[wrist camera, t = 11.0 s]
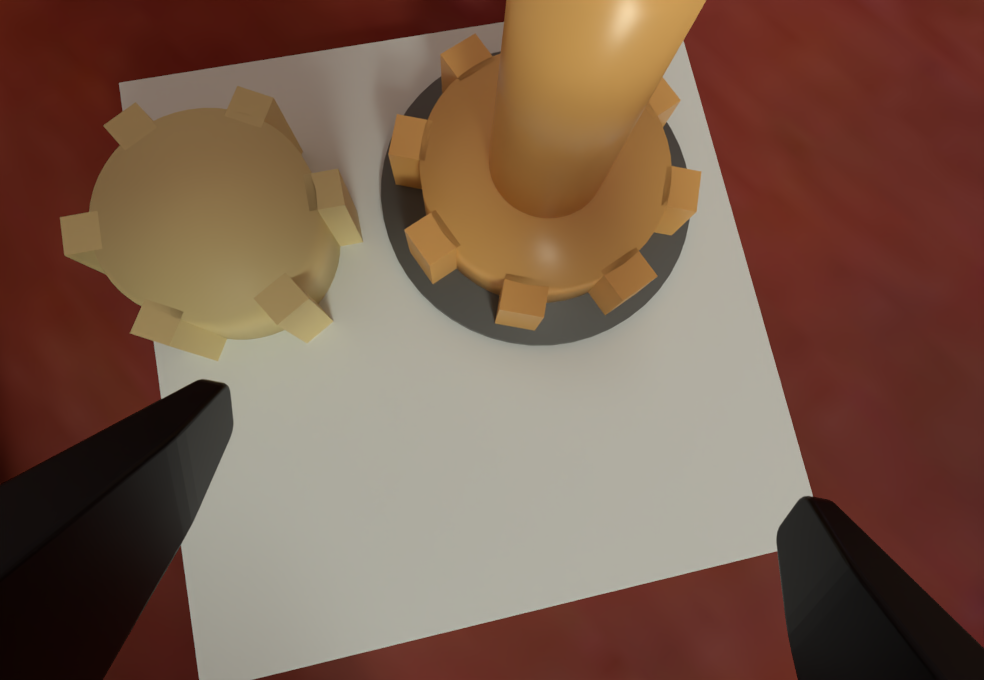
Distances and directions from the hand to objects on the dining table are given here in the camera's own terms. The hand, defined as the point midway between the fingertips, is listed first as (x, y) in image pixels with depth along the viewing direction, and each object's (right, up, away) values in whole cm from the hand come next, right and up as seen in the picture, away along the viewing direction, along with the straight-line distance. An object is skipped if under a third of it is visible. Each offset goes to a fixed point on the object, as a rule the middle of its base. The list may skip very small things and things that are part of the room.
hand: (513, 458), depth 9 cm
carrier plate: (-1, +3, +10) cm, 11 cm away
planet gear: (+1, +6, +9) cm, 11 cm away
